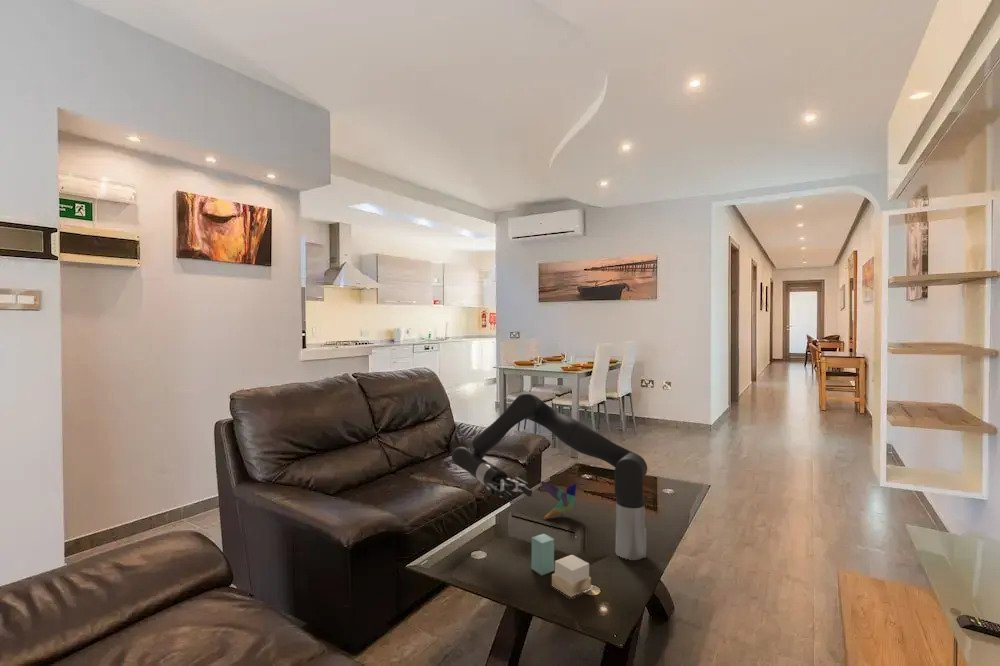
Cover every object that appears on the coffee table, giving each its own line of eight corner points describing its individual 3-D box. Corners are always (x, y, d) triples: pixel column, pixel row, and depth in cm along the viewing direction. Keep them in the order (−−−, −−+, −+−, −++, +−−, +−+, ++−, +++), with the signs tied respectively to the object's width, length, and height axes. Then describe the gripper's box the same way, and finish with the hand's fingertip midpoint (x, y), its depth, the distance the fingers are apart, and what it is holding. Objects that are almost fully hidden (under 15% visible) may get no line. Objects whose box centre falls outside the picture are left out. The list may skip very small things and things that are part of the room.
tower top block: (571, 567, 149) (571, 554, 149) (588, 577, 144) (589, 563, 144) (554, 574, 145) (554, 561, 145) (571, 584, 140) (572, 570, 139)
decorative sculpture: (595, 521, 193) (596, 483, 192) (553, 528, 186) (554, 488, 186) (573, 505, 209) (573, 470, 208) (533, 511, 202) (534, 475, 201)
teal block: (543, 564, 159) (543, 533, 158) (553, 570, 155) (554, 539, 154) (531, 568, 156) (531, 537, 155) (541, 575, 152) (541, 543, 151)
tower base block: (571, 579, 150) (571, 566, 150) (590, 591, 144) (590, 577, 143) (551, 587, 146) (551, 574, 145) (570, 600, 139) (570, 586, 139)
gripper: (476, 469, 169) (506, 489, 157) (508, 463, 178) (538, 481, 166) (473, 489, 170) (503, 511, 158) (505, 482, 179) (535, 502, 167)
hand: (521, 496), depth 162 cm, fingers open, 8 cm apart
